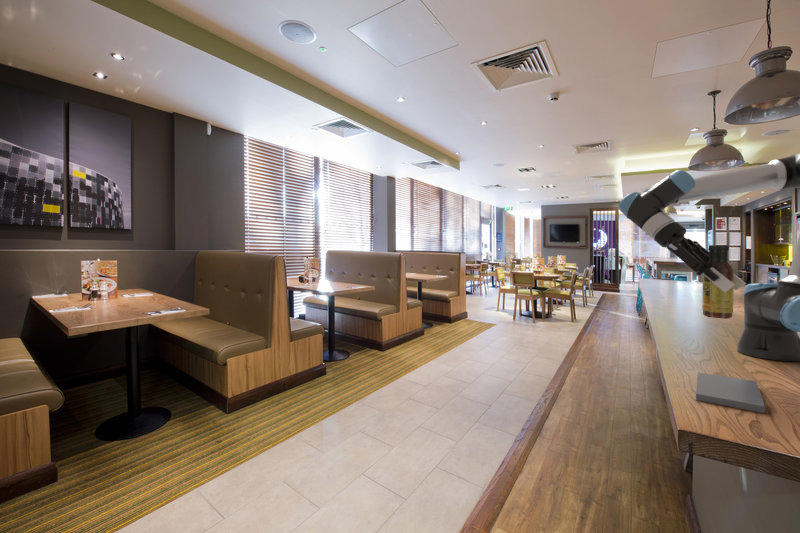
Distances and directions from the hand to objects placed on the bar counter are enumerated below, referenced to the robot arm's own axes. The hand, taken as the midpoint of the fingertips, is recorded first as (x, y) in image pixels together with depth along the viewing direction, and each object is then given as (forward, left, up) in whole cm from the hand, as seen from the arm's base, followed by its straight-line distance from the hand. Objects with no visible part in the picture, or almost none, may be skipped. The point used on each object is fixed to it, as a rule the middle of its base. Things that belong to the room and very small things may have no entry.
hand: (735, 287), depth 91 cm
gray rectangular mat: (+8, +12, -24) cm, 28 cm away
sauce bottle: (+3, -3, -9) cm, 9 cm away
